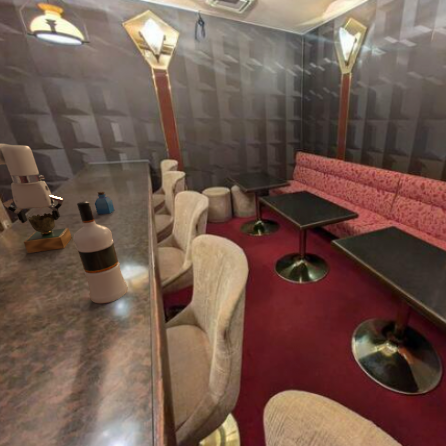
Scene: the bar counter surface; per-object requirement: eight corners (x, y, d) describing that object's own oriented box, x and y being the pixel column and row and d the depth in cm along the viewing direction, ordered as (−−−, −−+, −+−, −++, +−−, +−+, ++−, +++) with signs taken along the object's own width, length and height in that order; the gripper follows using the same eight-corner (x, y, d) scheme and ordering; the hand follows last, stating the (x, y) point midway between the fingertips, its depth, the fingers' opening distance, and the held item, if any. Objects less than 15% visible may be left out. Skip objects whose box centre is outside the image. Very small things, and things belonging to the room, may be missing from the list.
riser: (28, 253, 98) (23, 241, 96) (39, 242, 107) (34, 231, 105) (64, 248, 103) (60, 236, 101) (71, 238, 112) (68, 227, 110)
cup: (33, 239, 98) (25, 220, 95) (35, 233, 103) (28, 215, 100) (58, 234, 102) (52, 216, 99) (59, 229, 108) (53, 211, 105)
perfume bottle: (97, 214, 141) (91, 193, 137) (102, 210, 147) (97, 191, 142) (110, 213, 143) (105, 193, 139) (114, 210, 148) (109, 190, 144)
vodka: (83, 303, 72) (48, 206, 61) (108, 285, 81) (81, 196, 70) (113, 306, 72) (84, 208, 61) (135, 287, 80) (113, 198, 69)
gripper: (59, 176, 101) (71, 215, 108) (-1, 178, 93) (15, 219, 100) (53, 180, 95) (66, 221, 101) (-12, 182, 87) (6, 226, 94)
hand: (41, 220), depth 101 cm, fingers open, 9 cm apart
